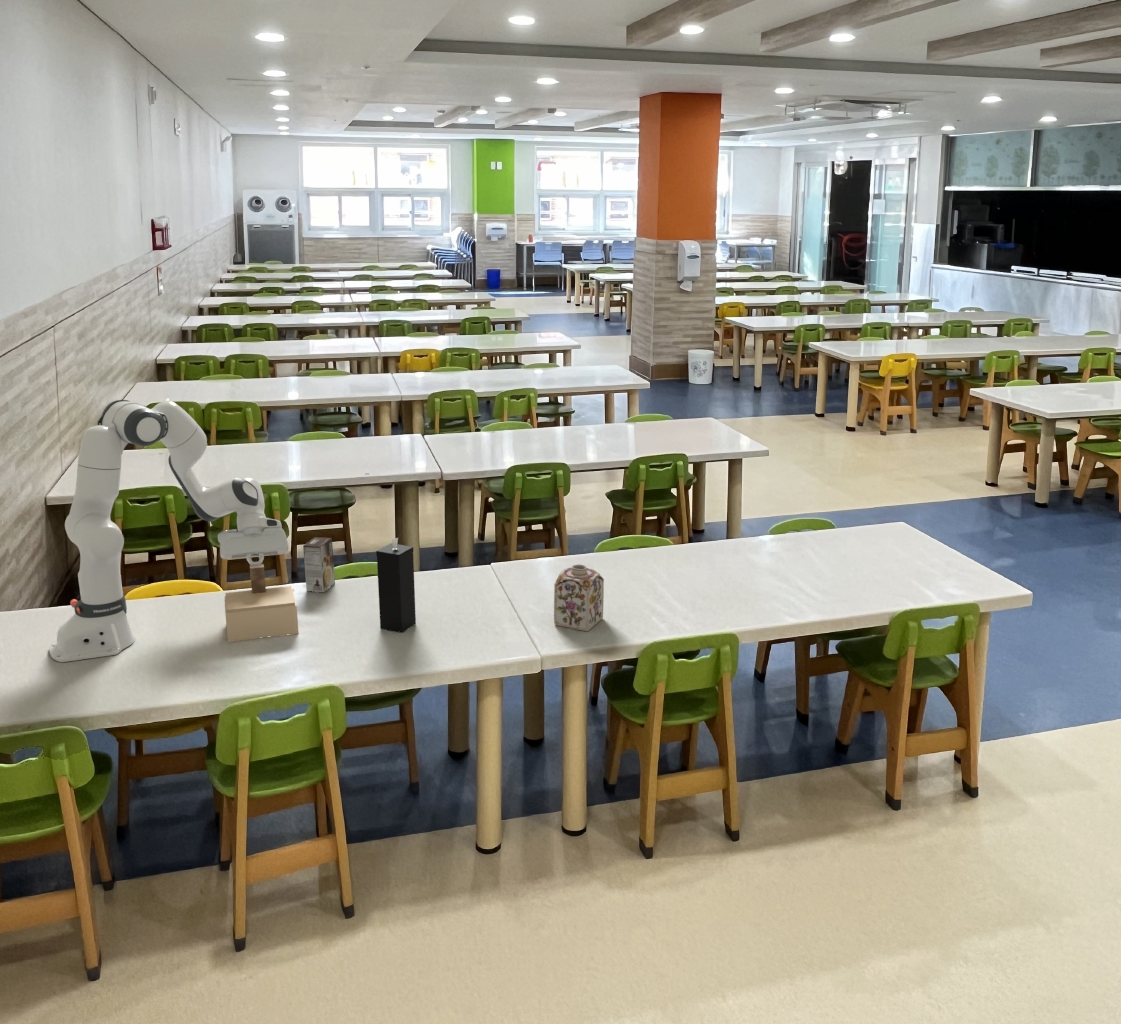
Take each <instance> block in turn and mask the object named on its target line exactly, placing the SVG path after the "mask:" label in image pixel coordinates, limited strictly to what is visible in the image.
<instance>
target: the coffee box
mask: <svg viewBox="0 0 1121 1024" xmlns="http://www.w3.org/2000/svg"><path fill="white" fill-rule="evenodd" d="M302 546H303V559H304V561H303V563H304V572H305V573H304V574H305V584H306V585H305V587H306V592H307V591H312V592H311V593H319V592H324V593H326V592H325V591H326V590H327V589H328V588H329V587H330V588H331V587H332V586H334V585H335V583H336V581H335V579H336V577H335V566H334V565H335V564H334V563H335V562H334V550H333V549H334V547H333V538H332V537H317V536H315V537H313V538H311V539H310V540H308V541H307V542H305V544H303V545H302ZM331 585H332V586H331ZM330 588H329V589H330ZM329 589H328V590H329ZM328 590H327V591H328ZM313 591H314V592H313Z"/></svg>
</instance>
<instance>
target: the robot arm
mask: <svg viewBox="0 0 1121 1024" xmlns="http://www.w3.org/2000/svg"><path fill="white" fill-rule="evenodd" d="M159 441H161V443H162V444H163V445H164V446H165V448H166V449H167V450H168V452H169V456H168V460H167V461H168V466H169V468H170V470H171V472H172V473H173V475H174V477H175V479H176V480H177V482H178V484H179V485H180V487H181V489H182V491H183V492H184V493H185V495H186V496H187V498H188V499H189V501H190V503H191V506H192V508H193V511H194V512H195V515H196V516H197V517H198V518H200V519H201V520H203V521H206V522H209V523H213V522H215V521H216V520H219V519H221V518H222V517H224V516H227V515H229V514H233V513H236V514H237V516H236V525H237V526H236V527H237V528H235V529H228V530H225V529H224V530H221V531H220V532H219V533H218V534H217V541H218V543H219V556H220V558H221V559H222V560H233V559H235V560H236V559H242V558H246V561H247V562H248V564H249V566H250V565H256V564H263V561H264V558H265V556H278V555H286V554H287V553H288V552H289V543H288V538H287V534H286V532H285V530H284V529H283V528H282V527H283V526H282V522H281V521H280V520H278V519H275V518H274V519H273V518H269V517H266V514H265V508H266V506H265V505H266V504H265V498H264V493H263V490H262V486H261V483H260V482H259V481H258V480H256V479H254V478H251V477H245V478H244V477H243V478H242V477H238V476H236V477H233V478H229V479H227V480H224V481H222V482H220V483H217V484H215V485H212V486H211V487H205V486H202V484H201V483H200V481H199V480H198V477H197V476H196V475H195V473H194V472H193V470H192V469H193V468H192V467H193V466H194V465H195V464H197V462H199V461H200V459H201V458H202V457H203V455H204V454H205V452H206V449H207V446H208V442H207V441H208V438H207V435H206V433H205V431H204V430H203V429H202V428H201V426H200V425H199V424H198V423H197V421H196V420H195V419H194V418H193V417H192V416H191V415H190V414H189V413H188V412H187V411H186V410H185V409H184V408H182V407H181V406H180V405H178V404H177V403H176V402H174V401H171V400H165V401H164V400H163V401H161V402H159V403H157V404H155V405H154V406H153V407H152V408H149V407H146V406H145V405H142V404H140V403H138V402H133V401H130V400H127V399H118V400H113V401H111V402H109V403H108V404H107V405H106V406H105V408H103V411H102V412H101V416H100V418H98V420H97V425H94V426H91V427H89V428H87V429H86V430H85V431H84V433H83V435H82V439H81V442H80V446H79V452H78V457H77V458H78V459H77V470H76V479H75V480H76V481H75V482H76V483H75V490H74V491H75V492H74V494H73V495H74V496H73V498H72V499H73V500H72V504H71V507H70V510H69V514H68V515H67V516H66V519H65V521H64V529H65V532H66V534H67V537H68V539H69V540H70V542H72V544H74V545H75V546H77V548H78V551H79V555H80V556H79V557H80V563H79V571H78V573H77V578H78V579H77V580H78V586H79V593H80V599H79V600H77V599H75V598H73V599H71V600H70V603H69V604H70V607H71V608H73V609H74V614H73V615H72V616H71V617H69V618H68V619H67V620H66V621H65V622H64V623H62V625H60V626H59V628H58V630H57V632H56V634H57V635H56V641H54V642H52V643H51V644H50V645H49V652H48V653H49V656H50V657H51V658H52V659H53V660H54V661H55V662H58V663H67V662H73V661H79V660H87V659H93V658H102V657H109V656H114V655H115V656H116V655H118V654H120V652H122V651H123V650H124V649H126V648H128V647H130V646H131V645H133V643H134V642H135V640H136V639H135V636H134V634H133V631H132V630H131V627H130V624H129V621H128V616H127V612H128V611H127V606H128V605H127V600H126V597H125V596H126V595H125V593H124V592H123V586H122V575H121V561H122V560H121V559H122V550H123V548H124V545H125V537H124V534H123V533H122V531H121V529H120V527H119V526H118V525H117V523H115V522H113V521H112V520H111V513H112V509H113V506H114V503H115V501H116V499H117V497H118V496H119V493H120V484H121V483H120V482H121V470H122V469H121V468H122V456H123V453H124V449H125V448H126V446H127V445H128V444H132V445H134V446H138V447H149V446H152V445H155V444H156V443H158V442H159ZM254 557H256V558H257V557H258V559H259V560H258V561H253V560H252V558H254Z"/></svg>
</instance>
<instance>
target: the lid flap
mask: <svg viewBox="0 0 1121 1024" xmlns="http://www.w3.org/2000/svg"><path fill="white" fill-rule="evenodd" d="M249 573H250V575H249V576H250V584H251V585H250V587H251V589H249V590H239V591H230V592H225V596H226V610H227V613H230V612H240V611H249V610H258V609H267V608H277V607H286V606H295V601H296V600H295V601H294V596H295V595H294V596H293V592H294V591H293V592H292V589H293V588H292V585H289V586H279V587H268V588H267V587H266V577H265V565H264V563H261V564H256V565H250V564H249Z"/></svg>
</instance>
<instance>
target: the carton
mask: <svg viewBox="0 0 1121 1024" xmlns="http://www.w3.org/2000/svg"><path fill="white" fill-rule="evenodd" d="M292 592H293V596H294V601H295V606H286V607H277V608H267V609H258V610H249V611H240V612H230V613H227V610H226V595H224V596H223V597H224V598H223V600H224V613H225V614H224V615H225V621H226V622H225V624H226V633H227V642H228V643H231V642H240V640H241V641H248V640H247V639H249V640H253V639H252V638H258V639H261V638H260V637H267V638H269V637H268V636H275V637H281V636H280V635H284V636H288V635H287V634H292V635H299V621H298V620H299V619H298V605H297V602H296V597H295V596H296V595H295V593H294V589H293V588H292Z"/></svg>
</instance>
